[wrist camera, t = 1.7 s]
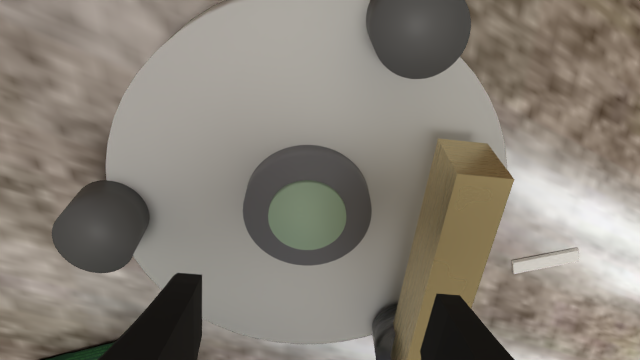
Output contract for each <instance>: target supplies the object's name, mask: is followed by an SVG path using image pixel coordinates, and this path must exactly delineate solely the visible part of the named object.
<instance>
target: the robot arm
mask: <svg viewBox="0 0 640 360" xmlns="http://www.w3.org/2000/svg"><path fill="white" fill-rule="evenodd" d="M201 337H202V275H200V274H188V273H176V274H175V275H174V276H173V277H172V278H171V279H170V281H169V282H168V283H167V284H166V286H165V287H164V288H163V290H162V291H161V292H160V293H159V295H158V296H157V297H156V298H155V299H154V301H153V302H152V303H151V304H150V305H149V306H148V308H147V309H146V310H145V311H144V312H143V313H142V314H141V315H140V316H139V318H138V319H137V320H136V321H135V322H134V323H133V324H132V325H131V326H130V327H129V329H128V330H127V331H126V332H125V333H124V334H123V335H122V336H121V337H120V338H119V339H118V340H117V341H116V342H115V343H114V344H113V345H112V346H111V347H110V348H109V349H108V350H107V351H106V352H105V353H104V354H103V355H102V356H101V357H100V358H98V359H97V360H197V357H198V352H199V347H200V342H201ZM420 354H421V360H514V359H513V358H512V356H511V355H510V354H509V353H508V352H507V351H506V350H505V349H504V347H503V346H502V345H501V344H500V343H499V342H498V340H497V339H496V338H495V337H494V336H493V335H492V333H491V332H490V331H489V330H488V329H487V327H486V326H485V325H484V324H483V323H482V321H481V320H480V319H479V318H478V317H477V315H476V314H475V313H474V312H473V311H472V309H471V308H470V307H469V306H468V305H467V303H466V302H465V301H464V300H463V299H462V297H461V296H460V295H450V294H438V293H436V297H435V300H434V304H433V307H432V311H431V314H430V318H429V321H428V325H427V328H426V332H425V335H424V339H423V342H422V346H421V349H420Z"/></svg>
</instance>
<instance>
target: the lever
mask: <svg viewBox="0 0 640 360" xmlns="http://www.w3.org/2000/svg"><path fill="white" fill-rule="evenodd" d="M513 181H514V179H513V177H512V176H511V174H510V173H509V172H508V170H507V169H506V168H505V166H504V165H503V164H502V162H501V161H500V160H499V158H498V157H497V156H496V154H495V153H494V151H493V150H492V149H491V147H490V146H489V145H488V143H478V142H468V141H458V140H448V139H438V140H437V145H436V149H435V153H434V157H433V161H432V165H431V169H430V173H429V178H428V182H427V186H426V190H425V194H424V198H423V202H422V206H421V211H420V215H419V219H418V223H417V227H416V231H415V235H414V239H413V244H412V248H411V252H410V256H409V260H408V264H407V268H406V272H405V277H404V281H403V285H402V289H401V293H400V297H399V301H398V303H397V304H393V305H391V306H389V307H387V308H385V309H383V310H382V311H381V312H380V313H379V314H378V315H377V316H376V317H375V319H374V321H373V324H372V333H373V340H374V347H375V354H376V360H421V354H420V349H421V346H422V342H423V339H424V335H425V332H426V328H427V325H428V321H429V318H430V314H431V311H432V307H433V304H434V300H435V297H436V293H438V294H450V295H460V296H461V297H462V299H463V300H464V301H465V302H466V303H467V305H468V306H469V307H470V308H471V307H472V304H473V301H474V298H475V295H476V292H477V289H478V286H479V283H480V280H481V277H482V274H483V271H484V268H485V265H486V262H487V259H488V256H489V253H490V250H491V247H492V244H493V241H494V238H495V235H496V232H497V229H498V226H499V223H500V220H501V217H502V214H503V211H504V208H505V205H506V202H507V199H508V196H509V193H510V190H511V187H512V184H513Z"/></svg>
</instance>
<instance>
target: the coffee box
mask: <svg viewBox="0 0 640 360" xmlns="http://www.w3.org/2000/svg"><path fill="white" fill-rule="evenodd" d="M114 343H115V342H114ZM114 343H110V344H106V345H101V346H97V347H94V348H89V349H86V350H82V351H78V352H74V353H67V354H63V355H60V356H57V357H54V358H50V359H46V360H97V359H98V358H100V357H101V356H102V355H103V354H104V353H105V352H106V351H107V350H108V349H109V348H110V347H111V346H112V345H113V344H114Z"/></svg>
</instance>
